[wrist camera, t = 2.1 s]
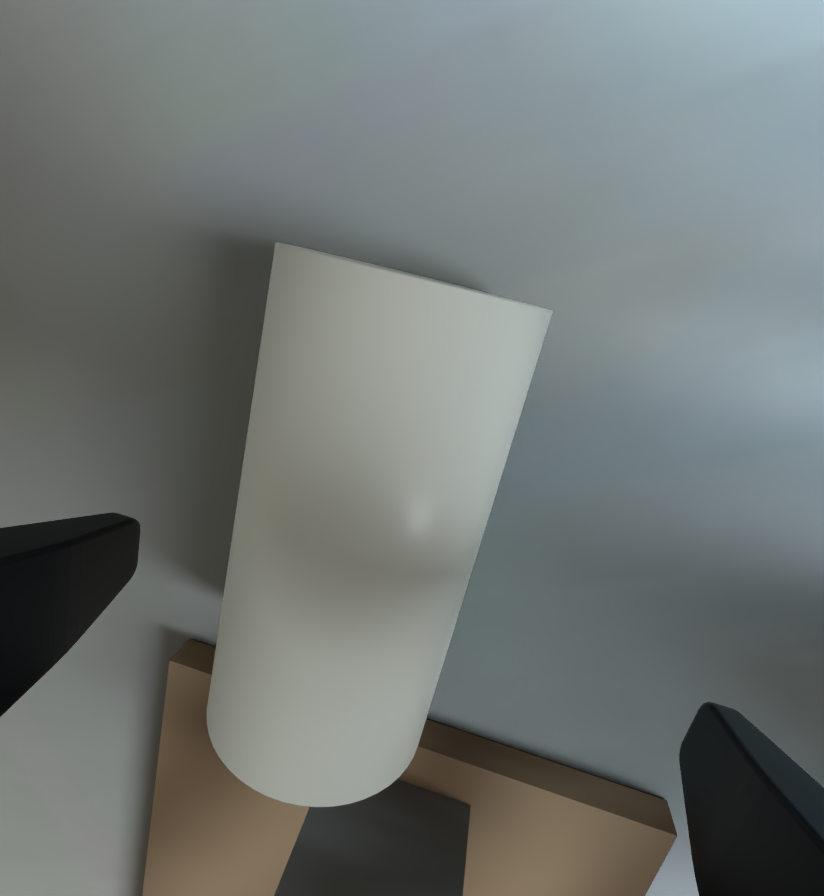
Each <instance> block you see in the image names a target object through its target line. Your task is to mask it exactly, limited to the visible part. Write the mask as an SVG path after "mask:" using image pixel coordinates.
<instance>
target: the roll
mask: <svg viewBox="0 0 824 896" xmlns="http://www.w3.org/2000/svg"><path fill="white" fill-rule="evenodd" d="M552 312H553V311H551V310H548V309H545V308H542V307H538V306H535V305H531V304H528V303H524V302H520V301H517V300H513V299H509V298H506V297H502V296H498V295H494V294H491V293H487V292H483V291H479V290H475V289H471V288H467V287H463V286H459V285H455V284H452V283H448V282H444V281H440V280H436V279H432V278H428V277H424V276H420V275H416V274H412V273H408V272H404V271H400V270H396V269H392V268H388V267H383V266H379V265H375V264H371V263H367V262H363V261H359V260H354V259H350V258H346V257H342V256H338V255H333V254H329V253H325V252H320V251H316V250H311V249H307V248H302V247H298V246H293V245H288V244H283V243H277V242H276V243H275V249H274V256H273V263H272V269H271V276H270V283H269V290H268V297H267V303H266V310H265V317H264V324H263V331H262V337H261V344H260V351H259V358H258V364H257V371H256V378H255V385H254V392H253V398H252V405H251V412H250V419H249V426H248V432H247V439H246V446H245V453H244V459H243V466H242V473H241V480H240V487H239V493H238V500H237V507H236V514H235V521H234V527H233V534H232V541H231V548H230V555H229V561H228V568H227V575H226V582H225V588H224V595H223V602H222V609H221V616H220V622H219V629H218V636H217V643H216V650H215V656H214V663H213V670H212V677H211V684H210V690H209V697H208V704H207V727H208V733H209V736H210V739H211V742H212V745H213V747H214V749H215V751H216V752H217V754H218V756H219V758H220V759H221V760H222V762H223V763H224V764H225V765H226V767H227V768H228V769H229V770H230V771H231V772H232V773H233V774H234V775H235V776H236V777H237V778H238V779H239V780H241V781H242V782H244V783H245V784H246V785H248V786H249V787H251V788H252V789H254V790H256V791H258V792H260V793H262V794H264V795H266V796H268V797H270V798H273V799H276V800H279V801H282V802H285V803H290V804H294V805H299V806H309V807H334V806H340V805H346V804H351V803H354V802H357V801H361V800H364V799H366V798H368V797H370V796H373V795H375V794H377V793H379V792H380V791H382V790H383V789H385V788H387V787H388V786H390V785H391V784H392V783H393V782H394V781H395V780H396V779H398V778H399V777H400V776H401V774H402V773H403V772H404V771H405V770H406V768H407V767H408V766H409V764H410V762H411V760H412V759H413V757H414V755H415V752H416V749H417V747H418V744H419V741H420V737H421V734H422V731H423V728H424V725H425V721H426V718H427V715H428V712H429V708H430V705H431V702H432V699H433V696H434V692H435V689H436V686H437V683H438V679H439V676H440V673H441V670H442V667H443V663H444V660H445V657H446V654H447V650H448V647H449V644H450V641H451V638H452V634H453V631H454V628H455V625H456V621H457V618H458V615H459V612H460V609H461V605H462V602H463V599H464V596H465V592H466V589H467V586H468V583H469V580H470V576H471V573H472V570H473V567H474V563H475V560H476V557H477V554H478V551H479V547H480V544H481V541H482V538H483V534H484V531H485V528H486V525H487V522H488V518H489V515H490V512H491V509H492V505H493V502H494V499H495V496H496V493H497V489H498V486H499V483H500V480H501V476H502V473H503V470H504V467H505V464H506V460H507V457H508V454H509V451H510V447H511V444H512V441H513V438H514V435H515V431H516V428H517V425H518V422H519V418H520V415H521V412H522V409H523V406H524V402H525V399H526V396H527V393H528V389H529V386H530V383H531V380H532V377H533V373H534V370H535V367H536V364H537V360H538V357H539V354H540V351H541V347H542V344H543V341H544V338H545V335H546V331H547V328H548V325H549V322H550V318H551V315H552Z"/></svg>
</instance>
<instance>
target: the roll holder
mask: <svg viewBox="0 0 824 896" xmlns="http://www.w3.org/2000/svg"><path fill="white" fill-rule="evenodd" d="M215 650H216V647H213V646H210V645H207V644H204V643H201V642H198V641H195V640H192V639H189V640H188V641H187V642H186V643H185V644H184V645H183V646H182V648H181V649H180V650H179V651H178V652H177V653H176V654H175V655H174V656H173V657H172V658H171V659H170V660H169V668H168V677H167V685H166V694H165V703H164V711H163V720H162V728H161V737H160V746H159V754H158V763H157V771H156V780H155V789H154V797H153V806H152V814H151V823H150V832H149V840H148V849H147V857H146V866H145V875H144V883H143V892H142V896H645V895H646V893H647V891H648V889H649V887H650V885H651V884H652V882H653V880H654V878H655V876H656V874H657V872H658V871H659V869H660V867H661V865H662V863H663V861H664V860H665V858H666V856H667V854H668V852H669V850H670V848H671V847H672V845H673V843H674V841H675V839H676V837H677V833H676V830H675V826H674V823H673V820H672V816H671V813H670V809H669V806H668V803H667V801H666V800H663V799H660V798H657V797H655V796H652V795H649V794H646V793H643V792H640V791H637V790H634V789H631V788H628V787H625V786H622V785H619V784H616V783H613V782H610V781H607V780H604V779H601V778H599V777H596V776H593V775H590V774H587V773H584V772H581V771H578V770H575V769H572V768H569V767H566V766H563V765H560V764H557V763H554V762H551V761H548V760H546V759H543V758H540V757H537V756H534V755H531V754H528V753H525V752H522V751H519V750H516V749H513V748H510V747H507V746H504V745H501V744H498V743H495V742H493V741H490V740H487V739H484V738H481V737H478V736H475V735H472V734H469V733H466V732H463V731H460V730H457V729H454V728H451V727H448V726H445V725H442V724H439V723H437V722H434V721H431V720H428V719H426V721H425V725H424V728H423V731H422V734H421V737H420V741H419V744H418V747H417V749H416V752H415V755H414V757H413V759H412V760H411V762H410V764H409V766H408V767H407V768H406V770H405V771H404V772H403V773H402V774H401V776H400V777H399V778H398V779H396V780H395V781H394V782H393V783H392V784H391V785H390V786H388V787H387V788H385V789H383V790H382V791H380V792H379V793H377V794H375V795H373V796H370V797H368V798H366V799H364V800H361V801H357V802H354V803H351V804H346V805H340V806H334V807H309V806H299V805H294V804H290V803H285V802H282V801H279V800H276V799H273V798H270V797H268V796H266V795H264V794H262V793H260V792H258V791H256V790H254V789H252V788H251V787H249V786H248V785H246V784H245V783H244V782H242V781H241V780H239V779H238V778H237V777H236V776H235V775H234V774H233V773H232V772H231V771H230V770H229V769H228V768H227V767H226V765H225V764H224V763H223V762H222V760H221V759H220V758H219V756H218V754H217V752H216V751H215V749H214V747H213V745H212V742H211V739H210V736H209V733H208V727H207V704H208V697H209V690H210V684H211V677H212V670H213V663H214V656H215Z"/></svg>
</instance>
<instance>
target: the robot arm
mask: <svg viewBox="0 0 824 896" xmlns="http://www.w3.org/2000/svg"><path fill="white" fill-rule="evenodd" d="M139 539H140V525H139V522H138V521H137V520H136V519H134V518H131V517H128V516H125V515H121V514H118V513H105V514H98V515H91V516H84V517H77V518H70V519H62V520H55V521H48V522H41V523H34V524H27V525H19V526H12V527H5V528H0V717H1V716H2V715H3V714H4V713H5V712H6V711H7V710H8V709H9V708H10V707H11V706H12V705H13V704H14V703H15V702H16V701H17V700H18V699H19V698H20V697H21V696H23V695H24V694H25V693H26V692H27V691H28V690H29V689H30V688H31V687H32V686H33V685H34V684H35V683H36V682H37V681H38V680H39V679H40V678H41V677H42V676H43V675H44V674H45V673H46V672H48V671H49V670H50V669H51V668H52V667H53V666H54V665H55V664H56V663H57V662H58V661H59V660H60V659H61V658H62V657H63V656H64V655H65V654H66V653H67V652H68V651H69V649H70V648H71V647H72V646H73V645H74V644H75V643H76V642H77V641H78V640H79V638H80V637H81V636H82V635H83V634H84V633H85V631H86V630H87V629H88V628H89V627H90V626H91V625H92V623H93V622H94V621H95V620H96V619H97V618H98V616H99V615H100V614H101V613H102V612H103V611H104V609H105V608H106V607H107V606H108V605H109V604H110V602H111V601H112V600H113V599H114V598H115V597H116V596H117V594H118V593H119V592H120V591H121V590H122V589H123V587H124V586H125V585H126V584H127V583H128V582H129V580H130V579H131V578H132V576H133V574H134V572H135V570H136V567H137V562H138V550H139ZM679 761H680V770H681V777H682V785H683V793H684V800H685V808H686V815H687V823H688V831H689V838H690V846H691V854H692V860H693V866H694V872H695V878H696V882H697V887H698V892H699V896H824V788H823V787H822V786H821V785H820V784H819V783H818V782H817V781H815V780H814V779H813V778H812V777H811V776H810V775H809V774H808V773H806V772H805V771H804V770H803V769H802V768H801V767H800V766H799V765H797V764H796V763H795V762H794V761H793V760H792V759H791V758H790V757H789V756H787V755H786V754H785V753H784V752H783V751H782V750H781V749H780V748H778V747H777V746H776V745H775V744H774V743H773V742H772V741H771V740H769V739H768V738H767V737H766V736H765V735H764V734H763V733H762V732H761V731H759V730H758V729H757V728H756V727H755V726H754V725H753V724H752V723H750V722H749V721H748V720H747V719H746V718H745V717H744V716H743V715H742V714H740V713H739V712H738V711H736V710H734V709H731V708H728V707H725V706H722V705H719V704H715V703H712V702H707V703H704V704H703V705H702V706H701V707H700V709H699V710H698V712H697V714H696V716H695V718H694V720H693V722H692V724H691V726H690V728H689V730H688V732H687V734H686V736H685V738H684V740H683V742H682V744H681V748H680V754H679Z"/></svg>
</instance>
